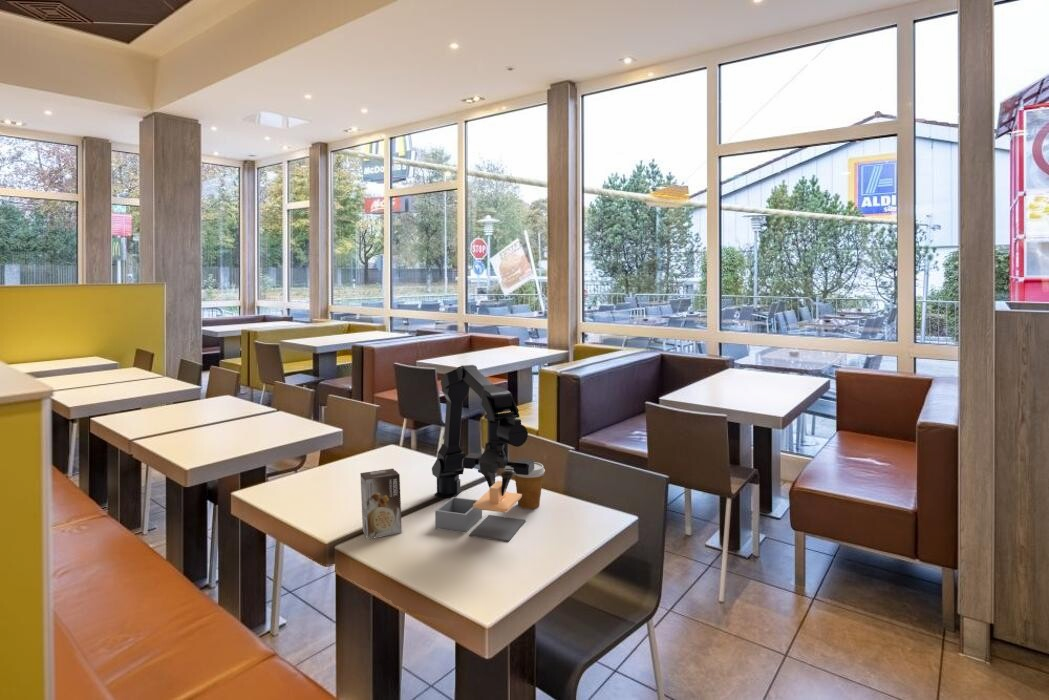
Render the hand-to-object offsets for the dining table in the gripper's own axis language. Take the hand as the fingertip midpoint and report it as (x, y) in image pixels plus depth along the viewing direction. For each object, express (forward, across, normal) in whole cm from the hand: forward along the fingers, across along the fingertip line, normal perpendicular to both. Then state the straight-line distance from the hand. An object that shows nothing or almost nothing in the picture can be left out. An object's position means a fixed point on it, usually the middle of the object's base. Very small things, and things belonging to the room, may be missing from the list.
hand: (498, 494), depth 159 cm
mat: (+9, 0, 0) cm, 9 cm away
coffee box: (+10, -28, -12) cm, 32 cm away
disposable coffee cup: (+10, +3, +19) cm, 21 cm away
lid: (+3, 0, 0) cm, 3 cm away
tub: (+9, -11, 0) cm, 15 cm away
